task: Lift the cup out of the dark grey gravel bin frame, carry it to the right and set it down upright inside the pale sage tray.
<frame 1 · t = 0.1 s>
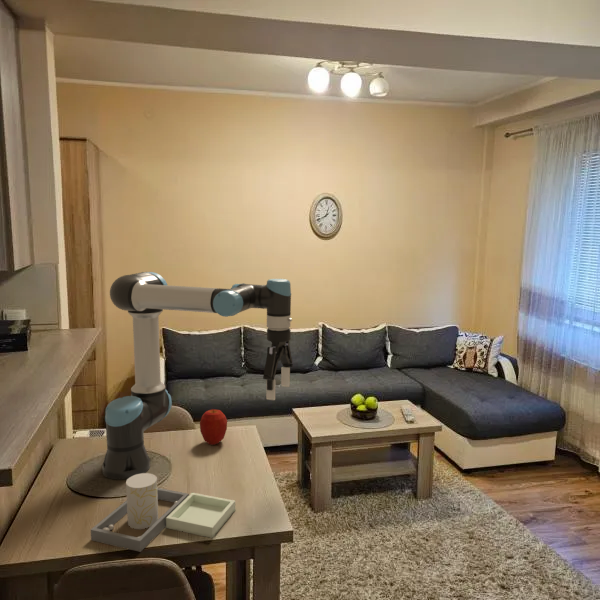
hand: (278, 392, 167), 28 cm above the table, fingers open, 13 cm apart
gravel bin: (143, 520, 144), on the table
sage tray: (201, 518, 145), on the table
cup: (143, 521, 144), resting in gravel bin
apple: (213, 443, 195), on the table
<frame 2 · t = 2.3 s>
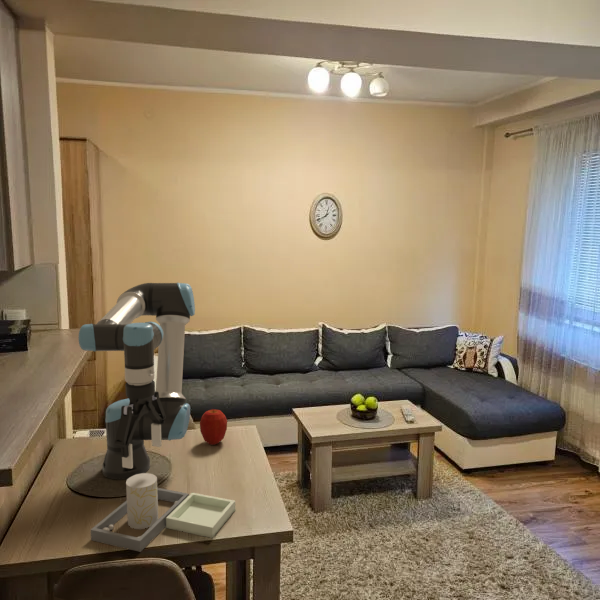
hand: (142, 456, 141), 19 cm above the table, fingers open, 13 cm apart
nothing on the table moved.
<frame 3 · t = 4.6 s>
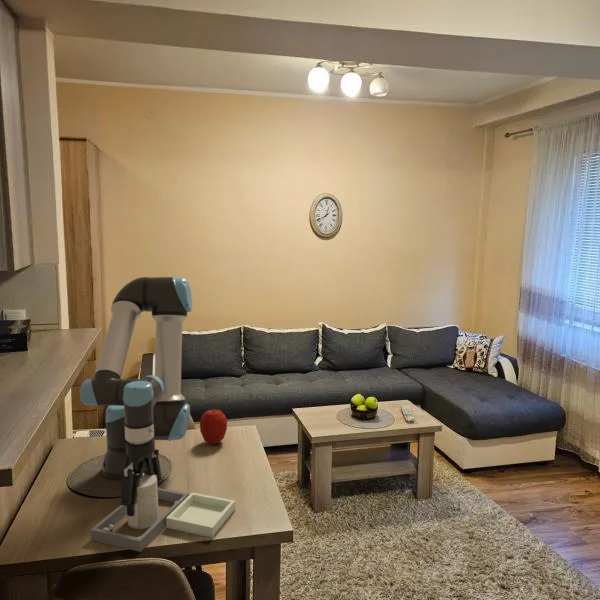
hand: (143, 516, 144), 1 cm above the table, fingers closed on cup, 8 cm apart
cup: (143, 521, 144), resting in gravel bin, touching gripper
everything else where it was.
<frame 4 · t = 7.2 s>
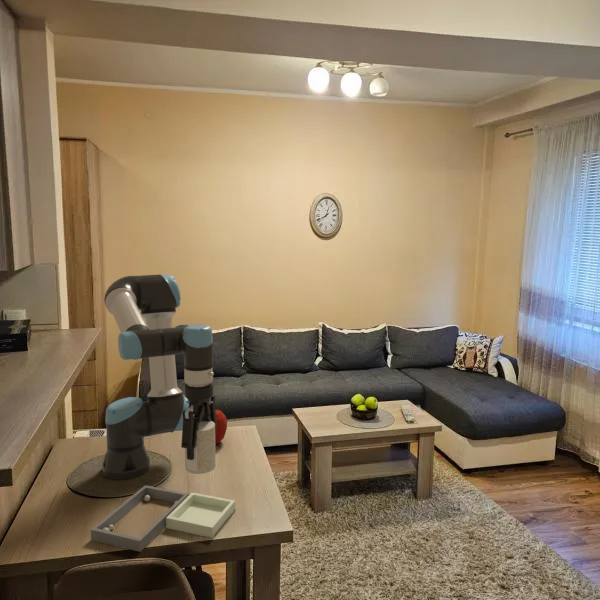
hand: (200, 462, 143), 17 cm above the table, fingers closed on cup, 8 cm apart
cup: (200, 467, 143), point 15 cm above the table, touching gripper
everything else where it was.
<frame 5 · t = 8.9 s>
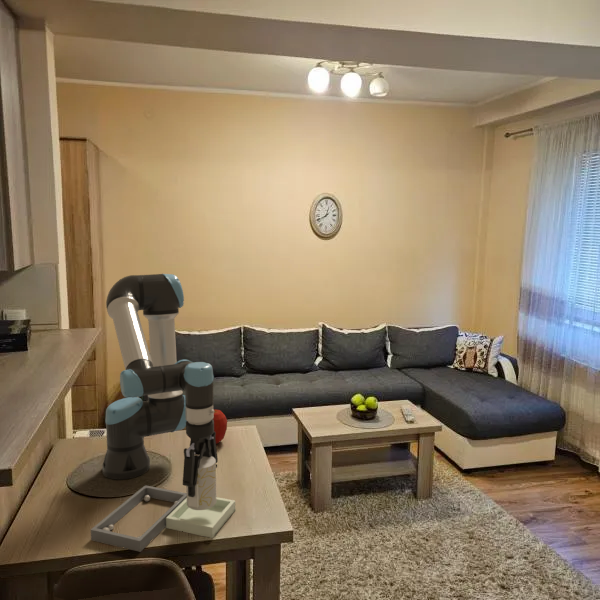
hand: (201, 497, 144), 6 cm above the table, fingers closed on cup, 8 cm apart
cup: (201, 502, 144), point 5 cm above the table, touching gripper
everything else where it was.
when the fingers open (4 cm above the table, at t = 9.9 s): cup drops 2 cm, resting on sage tray.
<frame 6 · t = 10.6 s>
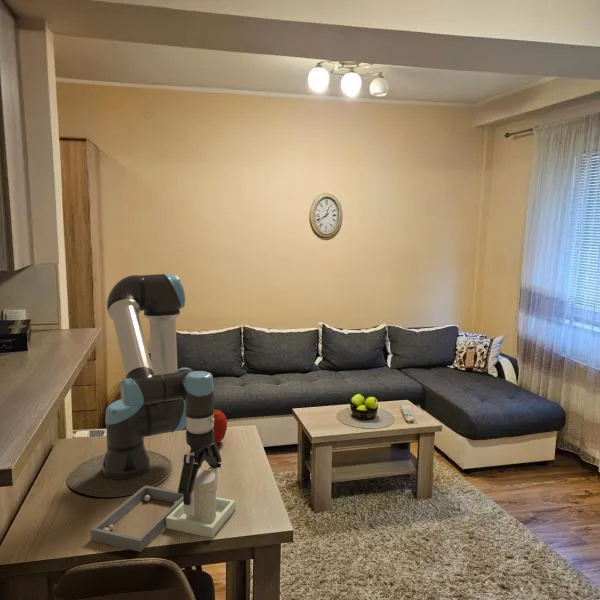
hand: (201, 501, 144), 5 cm above the table, fingers open, 13 cm apart
cup: (201, 517, 145), resting on sage tray
everything else where it was.
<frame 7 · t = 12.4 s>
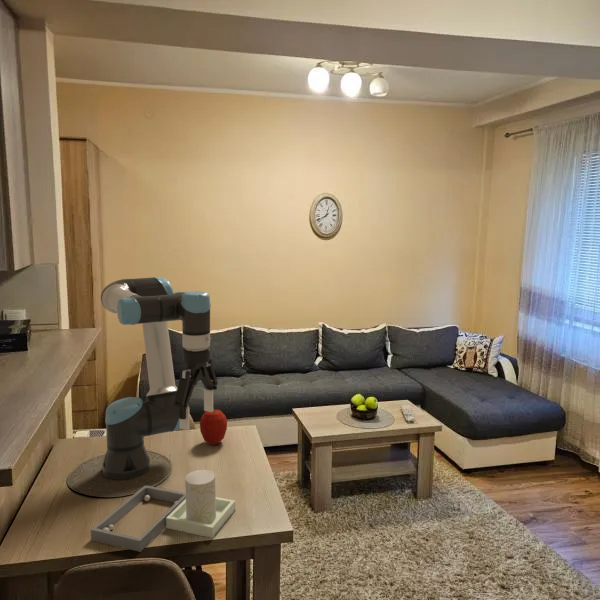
hand: (197, 419, 147), 27 cm above the table, fingers open, 13 cm apart
nothing on the table moved.
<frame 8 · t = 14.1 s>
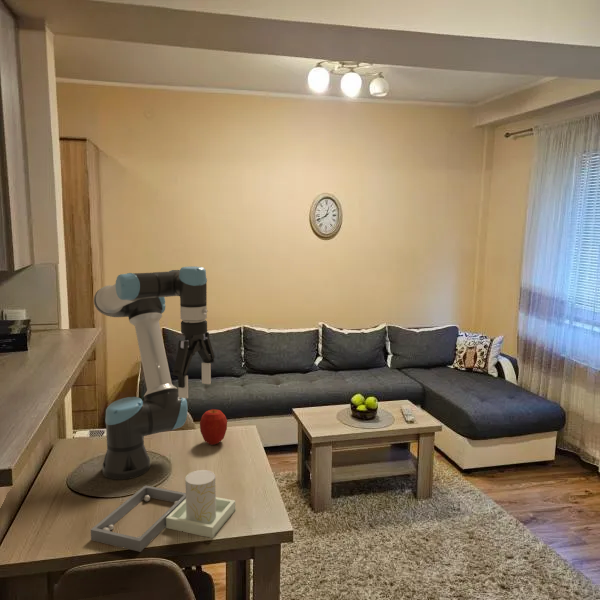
hand: (195, 390, 154), 33 cm above the table, fingers open, 13 cm apart
nothing on the table moved.
at the end: cup inside the target area on the sage tray (0.2 cm from its centre), point 0.4 cm above the sage tray's base; cup tilted 0°; the gripper is holding nothing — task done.
